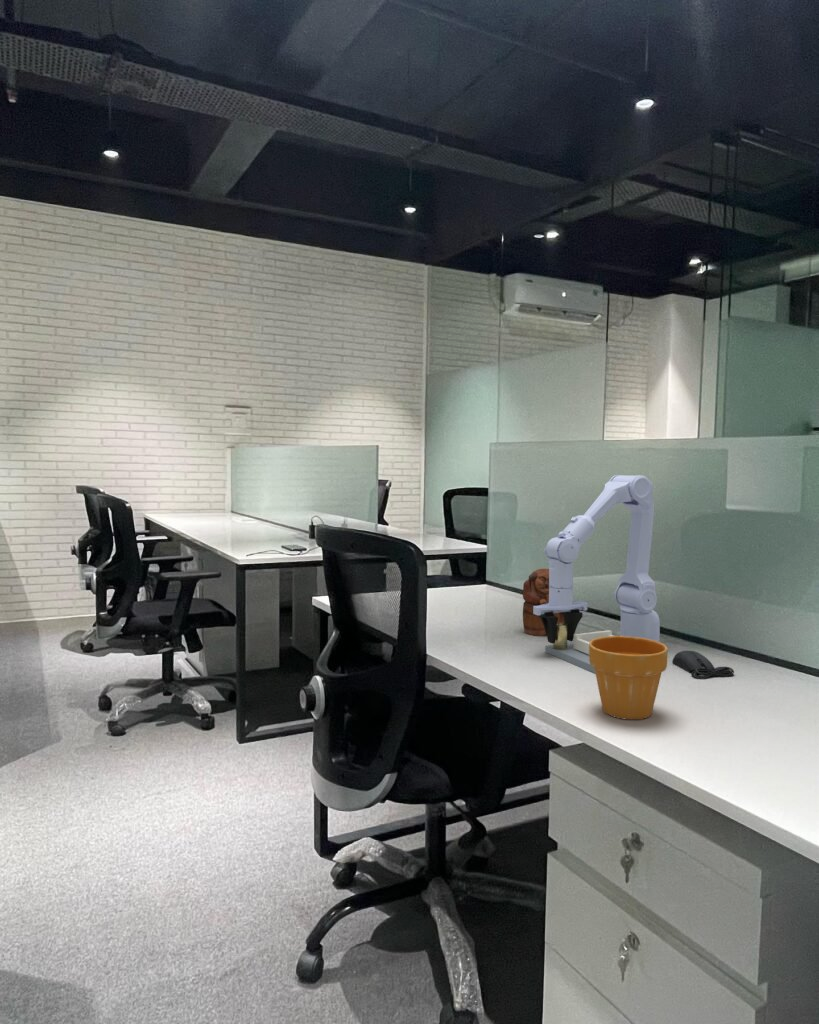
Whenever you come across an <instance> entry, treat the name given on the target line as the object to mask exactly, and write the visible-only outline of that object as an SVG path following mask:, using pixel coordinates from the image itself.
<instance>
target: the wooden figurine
mask: <svg viewBox="0 0 819 1024" xmlns="http://www.w3.org/2000/svg"><path fill="white" fill-rule="evenodd" d="M522 599H523V603H522V623H523V624H522V625H523V630H524V633H525V634H526V635H530V636H537V637H547V635H546V631H545V628H544V625H543V623H542V621H541V619H540V617H539V615H535V614H533V606H539V605H543V604H547V603H549V568H539V569H536V570H535V571H533V572H531V574H529V575H528V578H527V580H525V581H524V582H523V591H522ZM553 615H555V616H556V617H558V621H557V623H565V621H564V615H563V612H559V613H553Z"/></svg>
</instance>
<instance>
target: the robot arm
mask: <svg viewBox="0 0 819 1024" xmlns="http://www.w3.org/2000/svg"><path fill="white" fill-rule="evenodd" d="M653 491H654V484H653V483H652V482H651V480H650V479H649V478H648V477H647V476H645V475H644V474H643V475H638V474H637V475H625V474H624V475H623V474H615V475H613V476H611V478H610V479H609V480H608V481H607V482H605V483H604V488H603V490H602V491H601V493H600V494H599V495H598V497H597V498H596V499H595V500H594V501H593V503H592V504H591V506H590V507H589V508H588V509H587V510H586V511H585V513H584V514H582V515H580V514H579V515H576V516H572V518H571V519H570V523H568V525H567V526H565V527H564V529H563V530H562V531H560V532H559V533H558V535H557V536H556V537H552V538H550V539H549V540H548V542H547V544H546V546H545V548H544V549H543V551H544V555H545V557H546V558H547V564H548V569H549V603H547V604H543V605H539V606H533V614H535V615H539V617H540V619H541V621H542V623H543V625H544V628H545V631H546V639H547V642H548V643H550V644H553V643H555V639H556V625H557V621H558V617H556V616H555V615H553V613H559V612H563V615H564V621H565V623H566V624H568V633H567V642H574V634H576V630H577V628H578V625H579V623H580V621H581V620H582V618H583V615H584V613H583V612H581V611H584V612H585V611H588V602H586V601H574V597H573V596H574V595H573V594H574V589H573V588H574V561H575V560H577V558H578V556H579V553H580V549H581V546H583V544H584V543H585V542H586V541H587V540H589V538H590V537H591V535H592V534H594V532H595V524H596V523H597V522H598V521H599V520H601V518H602V517H603V516H605V515H606V513H608V512H609V511H610V510H611V509H612V508H613V507H614V506H615V505H617V504H623V505H625V507H626V508H627V509H628V510H629V512H630V513H631V515H630V526H629V535H628V547H627V556H626V557H627V559H626V569H625V572H624V573H623V574H622V575H621V576H620V577H619V579H618V585H617V587H616V588H615V590H614V591H615V592H614V600H615V602H616V603H617V604H618V606H619V607H618V609H619V610H620V633H619V634H620V635H619V636H630V637H639V638H645V639H650V640H654V641H657V642H660V635H661V634H660V633H661V632H660V631H661V628H660V627H661V625H660V624H661V621H660V616H659V614H658V613H657V612H656V611H655V610H654V609H655V607H656V606H657V602H658V597H657V596H658V595H657V592H656V583H655V581H654V580H653V579H652V578H651V577H650V575H649V570H650V559H651V548H652V538H653V537H652V536H653V528H654V515H655V503H654V499H653V498H654V497H653V493H654V492H653Z"/></svg>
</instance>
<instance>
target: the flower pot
mask: <svg viewBox="0 0 819 1024" xmlns="http://www.w3.org/2000/svg"><path fill="white" fill-rule="evenodd" d="M668 651H669V649H668V647H667V646H666V644H665V643H663V642H661V641H659V642H657V641H654V640H650V639H645V638H639V637H630V636H620V635H613V636H607V637H600V638H596V639H593V640H592V641H590V643H589V661H590V664H591V665H592V666H593V667H594V669H595V673H596V674H595V673H594V674H595V677H596V682H597V683H596V685H597V687H598V693H599V698H600V702H601V703H600V704H601V707H602V710H603V712H604V713H605V714H606V713H607V714H606V715H608V714H609V715H608V716H610V715H612V716H615V717H619V718H625V719H624V720H626V719H631V720H634V719H640V720H644V719H643V718H645V719H647V717H648V718H649V717H650V716H652V714H653V710H654V705H655V703H656V702H655V701H656V697H657V693H658V689H659V686H660V681H661V676H662V673H663V672H664V671H666V670H667V667H668ZM612 716H611V717H612ZM615 717H614V718H615ZM619 718H618V719H619Z"/></svg>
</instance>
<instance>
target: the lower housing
mask: <svg viewBox="0 0 819 1024" xmlns="http://www.w3.org/2000/svg"><path fill="white" fill-rule="evenodd" d="M607 636H614V635H613V630H611V629H610V630H609V629H607V630H597V631H591V632H583V633H575V634H574V638H573V642H574V649H576V650H579V651H581V652H584V653H586V654H589V643H590V641H592V640H593V639H596V638H600V637H607Z"/></svg>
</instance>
